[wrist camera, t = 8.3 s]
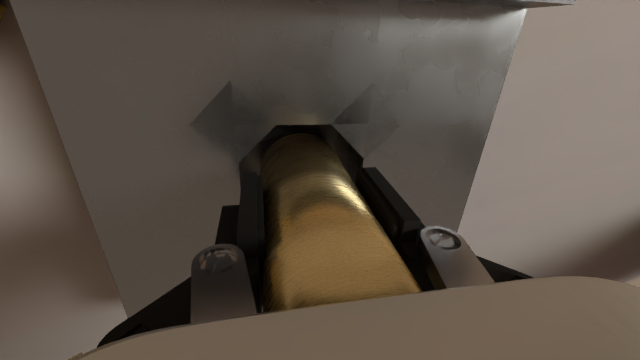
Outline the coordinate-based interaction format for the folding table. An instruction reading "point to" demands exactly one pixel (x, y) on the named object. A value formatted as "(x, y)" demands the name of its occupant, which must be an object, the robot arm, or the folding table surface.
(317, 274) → the brass cylinder
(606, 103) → the folding table surface
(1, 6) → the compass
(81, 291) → the folding table surface
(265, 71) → the jig
